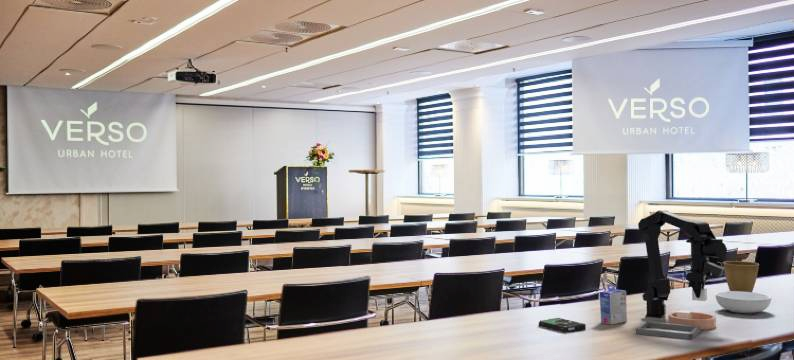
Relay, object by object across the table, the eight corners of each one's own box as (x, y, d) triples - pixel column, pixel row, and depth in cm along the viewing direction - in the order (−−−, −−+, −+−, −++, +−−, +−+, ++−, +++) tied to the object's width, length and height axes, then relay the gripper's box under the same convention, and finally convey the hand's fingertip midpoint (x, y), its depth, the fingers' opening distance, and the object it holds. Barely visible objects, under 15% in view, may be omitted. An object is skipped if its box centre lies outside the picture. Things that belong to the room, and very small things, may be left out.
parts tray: (635, 333, 260) (635, 328, 260) (645, 326, 273) (645, 321, 273) (692, 339, 250) (691, 334, 250) (699, 331, 263) (699, 326, 263)
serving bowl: (716, 314, 294) (716, 297, 294) (714, 306, 314) (714, 290, 314) (773, 317, 287) (773, 300, 287) (768, 308, 306) (768, 292, 306)
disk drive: (586, 331, 268) (558, 324, 281) (586, 324, 268) (558, 317, 281) (565, 335, 263) (537, 327, 275) (565, 327, 262) (537, 320, 275)
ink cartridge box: (616, 319, 286) (615, 283, 286) (627, 321, 281) (627, 284, 281) (599, 322, 280) (599, 285, 280) (610, 325, 276) (610, 287, 276)
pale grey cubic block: (692, 300, 272) (692, 289, 272) (694, 298, 276) (694, 287, 276) (704, 301, 269) (704, 290, 269) (706, 299, 273) (706, 288, 273)
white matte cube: (677, 322, 275) (676, 312, 275) (679, 320, 279) (679, 310, 279) (689, 323, 273) (689, 313, 273) (691, 321, 276) (691, 311, 276)
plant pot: (720, 298, 332) (720, 263, 332) (727, 294, 344) (726, 260, 344) (756, 301, 324) (756, 265, 324) (761, 296, 336) (761, 262, 336)
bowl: (664, 326, 272) (664, 317, 272) (674, 319, 285) (673, 310, 285) (711, 331, 263) (711, 321, 263) (718, 323, 277) (718, 314, 277)
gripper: (718, 259, 260) (718, 302, 260) (726, 254, 276) (726, 295, 276) (685, 257, 266) (685, 299, 266) (695, 252, 282) (695, 292, 282)
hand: (699, 296), depth 273 cm, fingers closed on pale grey cubic block, 4 cm apart
